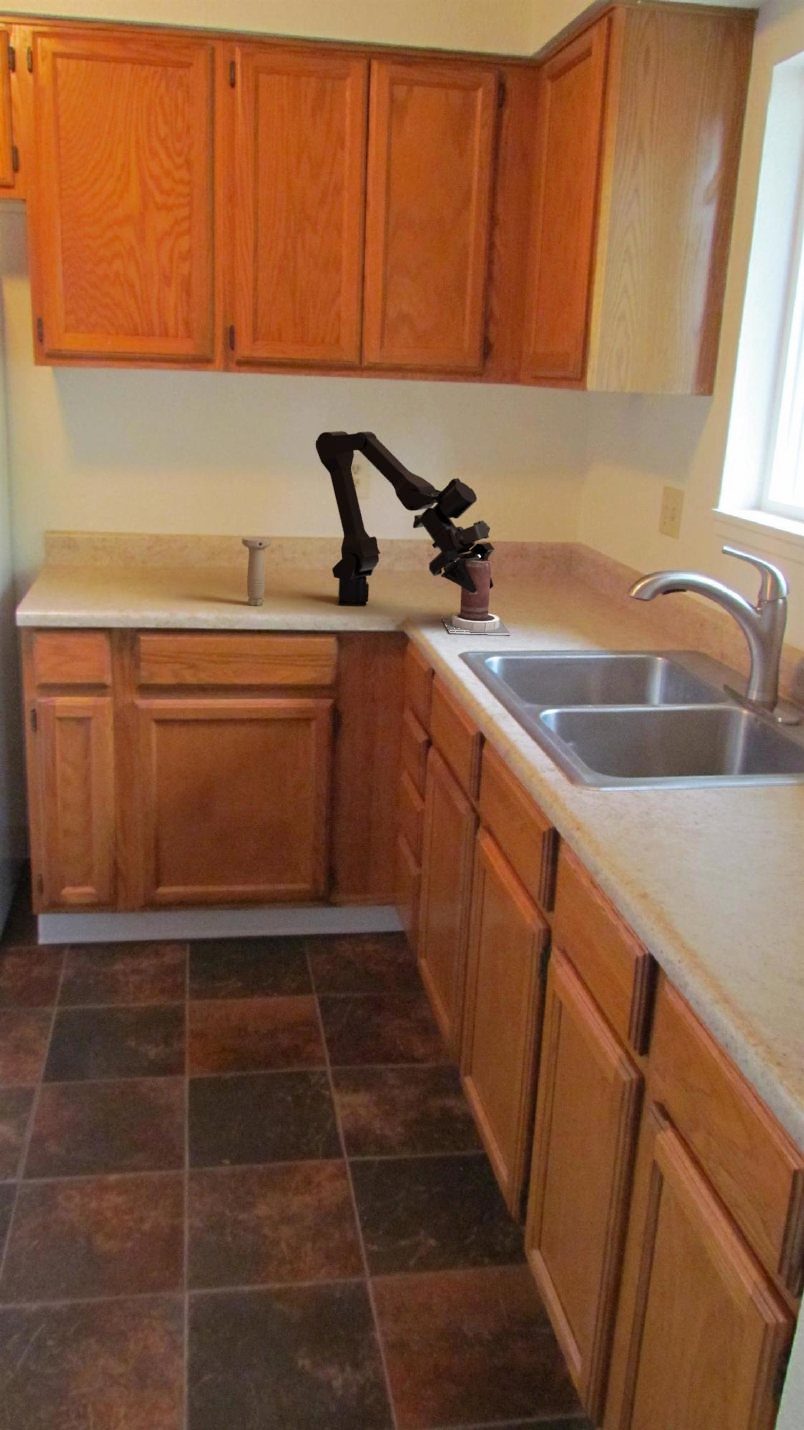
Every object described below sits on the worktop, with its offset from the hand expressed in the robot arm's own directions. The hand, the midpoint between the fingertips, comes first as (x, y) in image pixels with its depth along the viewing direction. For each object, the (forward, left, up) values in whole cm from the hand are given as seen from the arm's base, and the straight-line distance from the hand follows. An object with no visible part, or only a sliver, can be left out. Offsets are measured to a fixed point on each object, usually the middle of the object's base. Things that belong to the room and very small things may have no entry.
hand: (483, 589), depth 259 cm
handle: (-49, +17, -9) cm, 53 cm away
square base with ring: (-1, +1, -9) cm, 9 cm away
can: (-1, +1, -8) cm, 8 cm away
